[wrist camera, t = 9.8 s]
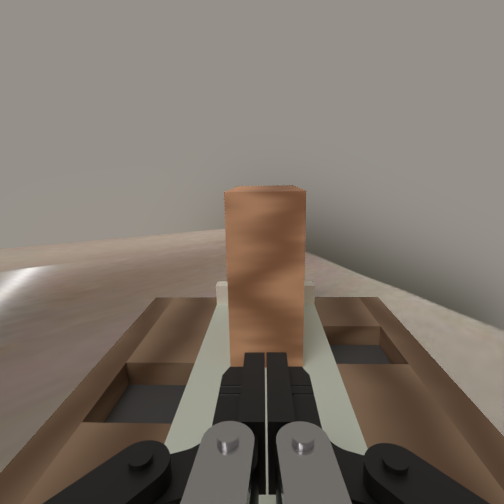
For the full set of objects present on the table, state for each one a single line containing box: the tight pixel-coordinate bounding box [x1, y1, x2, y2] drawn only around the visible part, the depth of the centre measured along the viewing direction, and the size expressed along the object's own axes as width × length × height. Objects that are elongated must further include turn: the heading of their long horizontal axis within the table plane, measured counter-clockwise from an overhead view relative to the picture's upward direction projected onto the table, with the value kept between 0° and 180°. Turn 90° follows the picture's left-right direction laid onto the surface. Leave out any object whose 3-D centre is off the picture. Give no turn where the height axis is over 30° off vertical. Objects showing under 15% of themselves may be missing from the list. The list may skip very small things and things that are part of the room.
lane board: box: [0, 281, 504, 504], centre depth 23 cm, size 24×28×4 cm
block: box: [224, 185, 306, 367], centre depth 27 cm, size 5×10×12 cm, turn 178°
